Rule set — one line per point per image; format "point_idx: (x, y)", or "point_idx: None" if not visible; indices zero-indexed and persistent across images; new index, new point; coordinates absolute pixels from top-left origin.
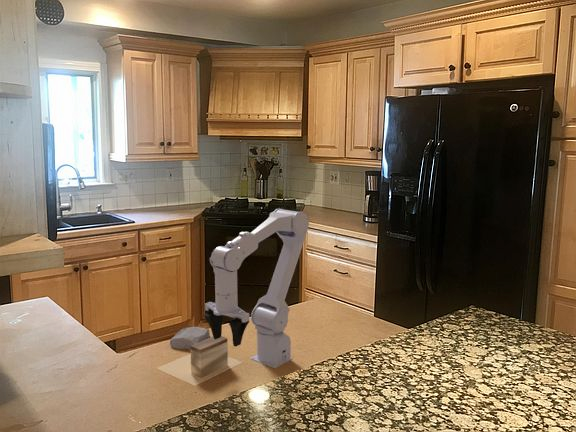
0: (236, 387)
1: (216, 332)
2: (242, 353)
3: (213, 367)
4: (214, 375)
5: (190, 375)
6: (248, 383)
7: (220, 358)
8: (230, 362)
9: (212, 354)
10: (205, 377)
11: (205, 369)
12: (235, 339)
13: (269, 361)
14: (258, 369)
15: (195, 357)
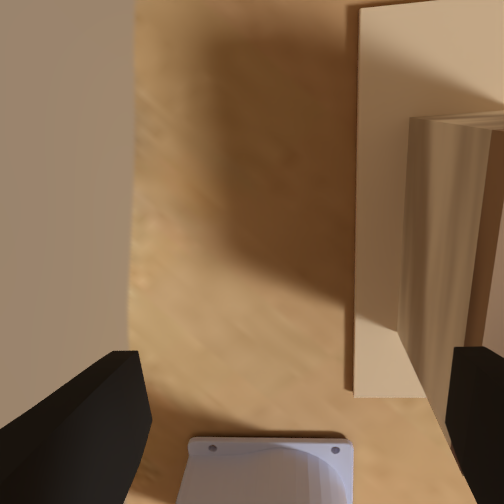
0: (172, 197)
1: (495, 431)
2: (438, 462)
3: (411, 234)
4: (363, 198)
5: (500, 88)
6: (164, 268)
7: (418, 311)
8: (408, 360)
9: (446, 265)
10: (391, 142)
11: (420, 164)
12: (37, 408)
13: (236, 463)
14: (245, 393)
15: None
